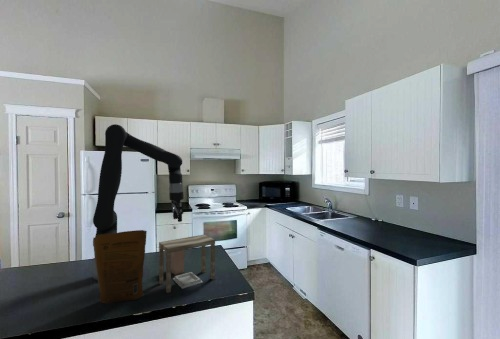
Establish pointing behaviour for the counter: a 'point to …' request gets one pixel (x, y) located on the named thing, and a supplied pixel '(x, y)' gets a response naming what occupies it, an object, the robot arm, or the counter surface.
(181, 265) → the plain brown box
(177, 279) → the tray
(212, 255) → the small wooden table
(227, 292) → the counter surface
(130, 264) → the pancake mix bag
